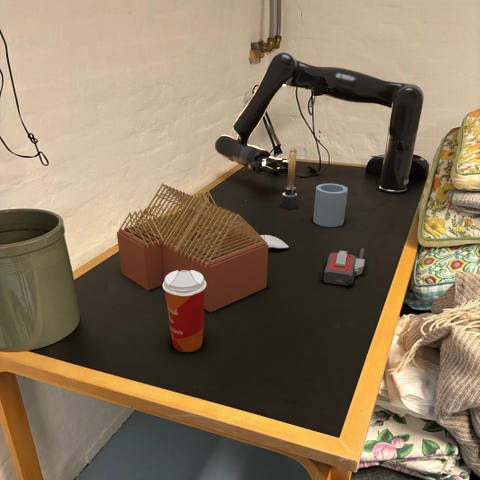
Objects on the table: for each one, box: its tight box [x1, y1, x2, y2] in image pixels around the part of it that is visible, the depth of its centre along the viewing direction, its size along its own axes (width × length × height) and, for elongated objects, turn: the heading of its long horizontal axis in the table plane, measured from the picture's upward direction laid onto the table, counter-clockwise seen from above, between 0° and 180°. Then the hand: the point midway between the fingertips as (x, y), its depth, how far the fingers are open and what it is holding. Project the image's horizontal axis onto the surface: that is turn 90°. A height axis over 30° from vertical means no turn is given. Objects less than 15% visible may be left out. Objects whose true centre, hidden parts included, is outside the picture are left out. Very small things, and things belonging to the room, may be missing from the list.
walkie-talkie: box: [322, 247, 366, 287], centre depth 121 cm, size 9×4×20 cm
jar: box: [312, 182, 349, 228], centre depth 146 cm, size 9×9×10 cm
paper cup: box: [162, 270, 206, 353], centre depth 91 cm, size 8×8×14 cm
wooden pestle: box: [281, 147, 298, 210], centre depth 155 cm, size 5×5×18 cm
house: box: [116, 182, 269, 313], centre depth 112 cm, size 28×23×19 cm
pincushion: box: [256, 229, 289, 249], centre depth 131 cm, size 12×6×6 cm, turn 81°
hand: (284, 170), depth 157 cm, fingers open, 8 cm apart
